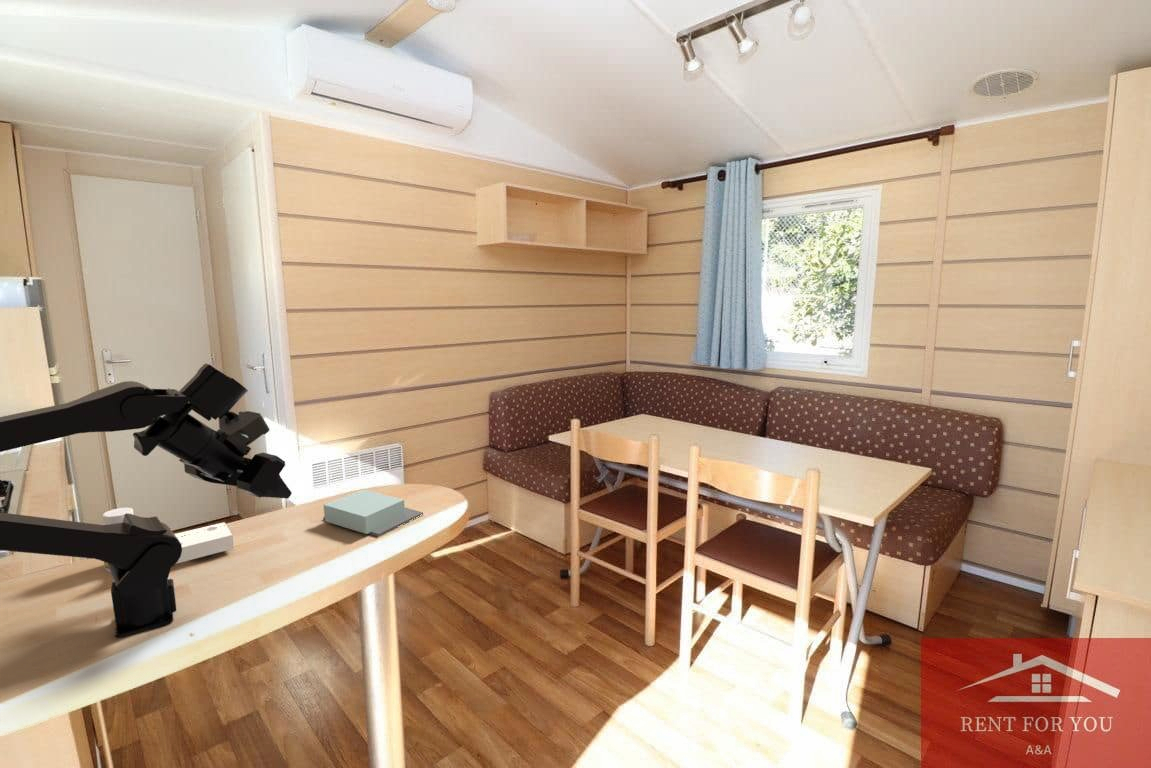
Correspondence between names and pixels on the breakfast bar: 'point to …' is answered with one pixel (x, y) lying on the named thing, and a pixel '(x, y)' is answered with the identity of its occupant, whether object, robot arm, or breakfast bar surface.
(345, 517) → the grey-green slab
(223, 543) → the white box
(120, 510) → the supplement bottle
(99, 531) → the robot arm
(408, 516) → the mat
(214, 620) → the breakfast bar surface
